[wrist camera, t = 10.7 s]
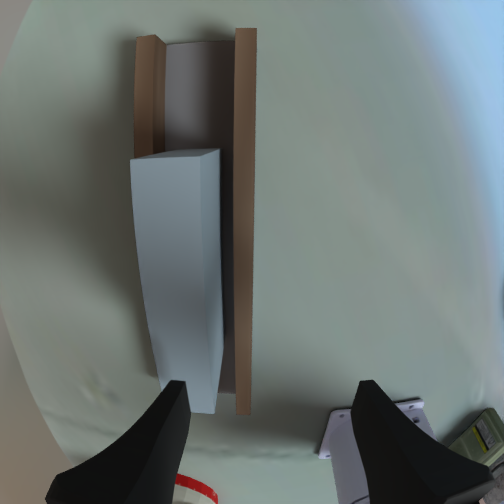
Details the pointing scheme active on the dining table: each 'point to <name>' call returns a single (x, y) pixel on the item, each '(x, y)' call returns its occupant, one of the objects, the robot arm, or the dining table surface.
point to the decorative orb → (500, 492)
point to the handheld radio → (482, 439)
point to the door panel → (182, 266)
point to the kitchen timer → (192, 492)
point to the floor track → (233, 159)
